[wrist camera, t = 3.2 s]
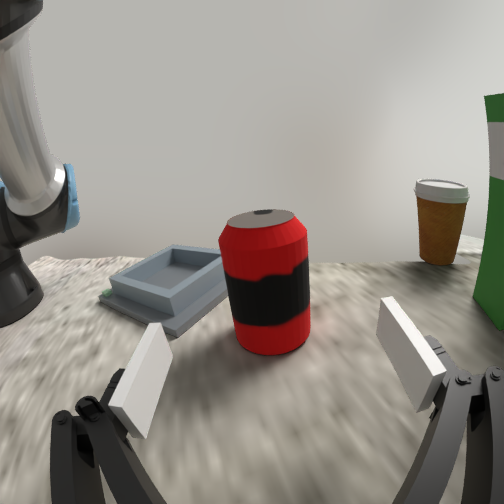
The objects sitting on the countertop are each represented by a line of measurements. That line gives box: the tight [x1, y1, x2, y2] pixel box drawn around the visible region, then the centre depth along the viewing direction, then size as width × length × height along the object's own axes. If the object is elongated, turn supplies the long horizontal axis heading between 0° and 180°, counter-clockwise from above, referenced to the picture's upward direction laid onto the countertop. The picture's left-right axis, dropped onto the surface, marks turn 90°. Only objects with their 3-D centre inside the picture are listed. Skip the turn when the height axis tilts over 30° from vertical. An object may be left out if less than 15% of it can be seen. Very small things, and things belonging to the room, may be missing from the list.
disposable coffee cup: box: [414, 179, 470, 265], centre depth 35 cm, size 10×10×12 cm
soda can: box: [218, 209, 310, 355], centre depth 25 cm, size 8×8×12 cm
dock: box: [98, 245, 228, 338], centre depth 39 cm, size 18×18×4 cm
